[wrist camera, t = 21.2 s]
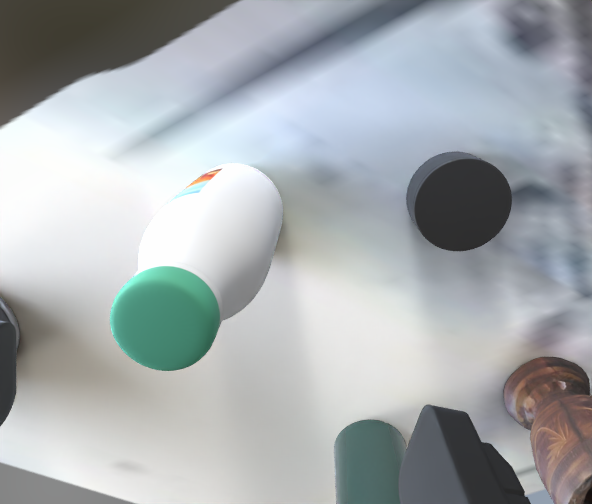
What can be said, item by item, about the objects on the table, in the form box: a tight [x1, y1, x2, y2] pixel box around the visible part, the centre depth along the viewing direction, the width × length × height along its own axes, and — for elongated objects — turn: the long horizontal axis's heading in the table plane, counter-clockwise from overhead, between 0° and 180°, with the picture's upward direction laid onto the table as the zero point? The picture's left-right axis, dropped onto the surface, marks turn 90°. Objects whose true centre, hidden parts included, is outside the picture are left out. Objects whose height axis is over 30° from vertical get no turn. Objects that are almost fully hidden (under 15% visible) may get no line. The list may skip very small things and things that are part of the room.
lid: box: [406, 152, 512, 251], centre depth 36 cm, size 7×7×3 cm
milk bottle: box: [110, 163, 283, 371], centre depth 29 cm, size 8×8×20 cm
